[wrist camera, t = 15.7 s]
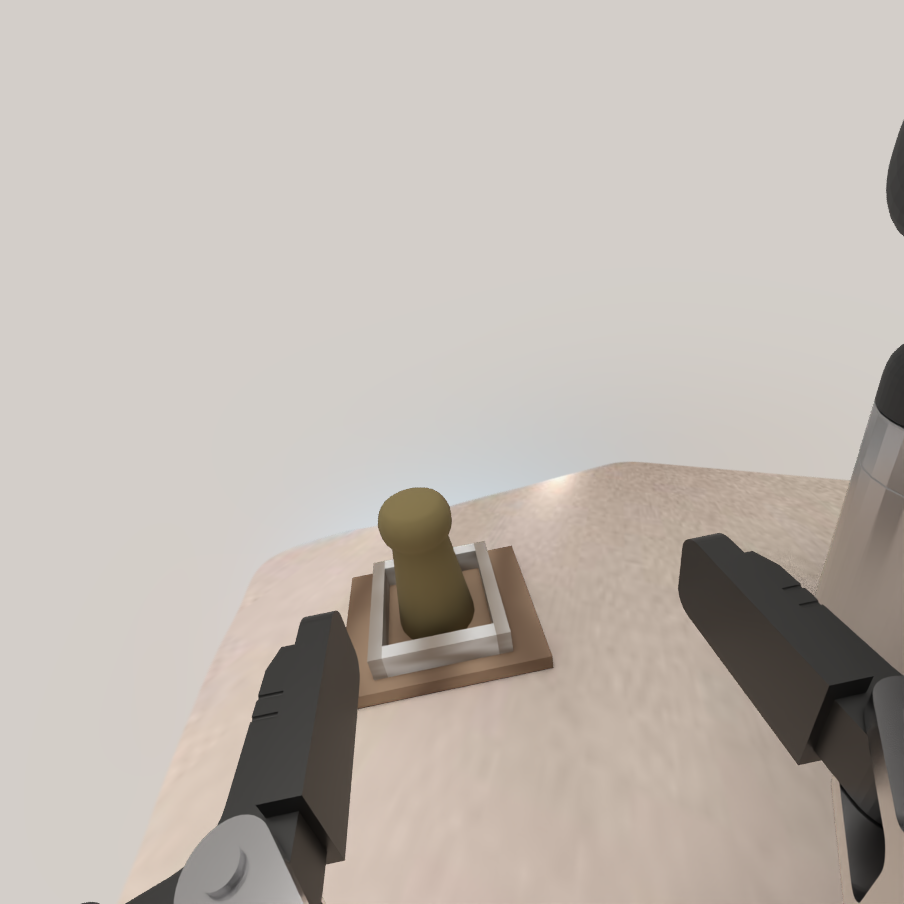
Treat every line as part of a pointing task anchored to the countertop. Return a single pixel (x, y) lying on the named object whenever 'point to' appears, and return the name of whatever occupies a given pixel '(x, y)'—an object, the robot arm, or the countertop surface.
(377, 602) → the spice dock
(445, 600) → the olive pawn figure
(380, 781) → the countertop surface
